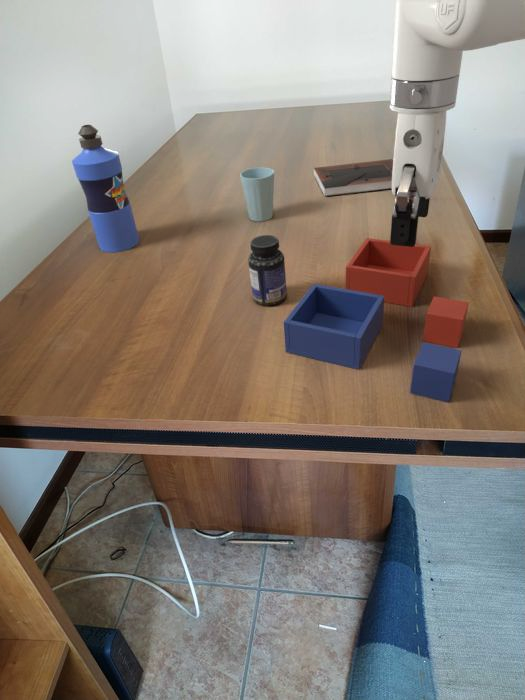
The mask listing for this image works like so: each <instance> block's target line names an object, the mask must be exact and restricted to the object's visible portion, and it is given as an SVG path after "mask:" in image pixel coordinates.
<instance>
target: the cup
mask: <svg viewBox="0 0 525 700" xmlns="http://www.w3.org/2000/svg"><path fill="white" fill-rule="evenodd" d="M239 177H240V181H241V185H242V190H243V195H244V199H245V203H246V207H247V208H246V209H247V212H248V217H249V220H251V221H252V222H258V223H260V222H266V221H270V220H271V219H272V218H273V214H274V194H275V193H274V191H275V190H274V189H275V170H274V169H273V168H270V167H260V166H259V167H252V168H247V169H245V170H243V171H242V172H240V174H239Z"/></svg>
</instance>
